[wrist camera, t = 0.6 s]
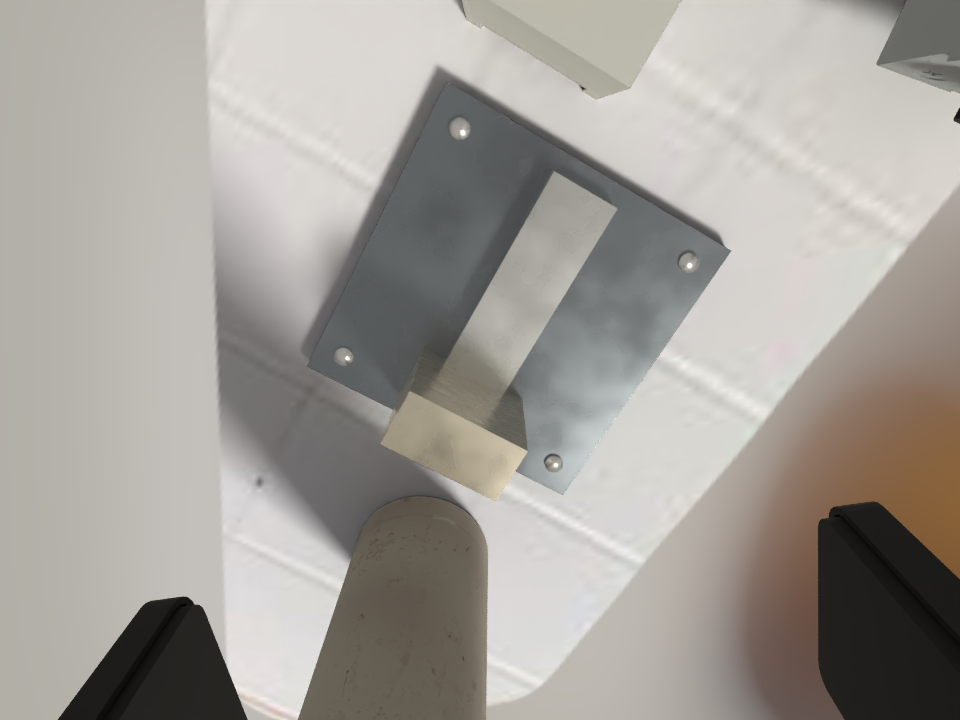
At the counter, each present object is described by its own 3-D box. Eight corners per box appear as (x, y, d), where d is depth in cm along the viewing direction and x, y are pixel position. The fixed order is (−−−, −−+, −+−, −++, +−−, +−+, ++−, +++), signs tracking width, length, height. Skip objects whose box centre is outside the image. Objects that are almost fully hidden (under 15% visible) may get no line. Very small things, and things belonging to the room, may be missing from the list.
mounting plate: (447, 82, 30) (435, 68, 24) (725, 248, 32) (783, 276, 26) (310, 361, 35) (269, 412, 28) (561, 487, 37) (575, 561, 31)
